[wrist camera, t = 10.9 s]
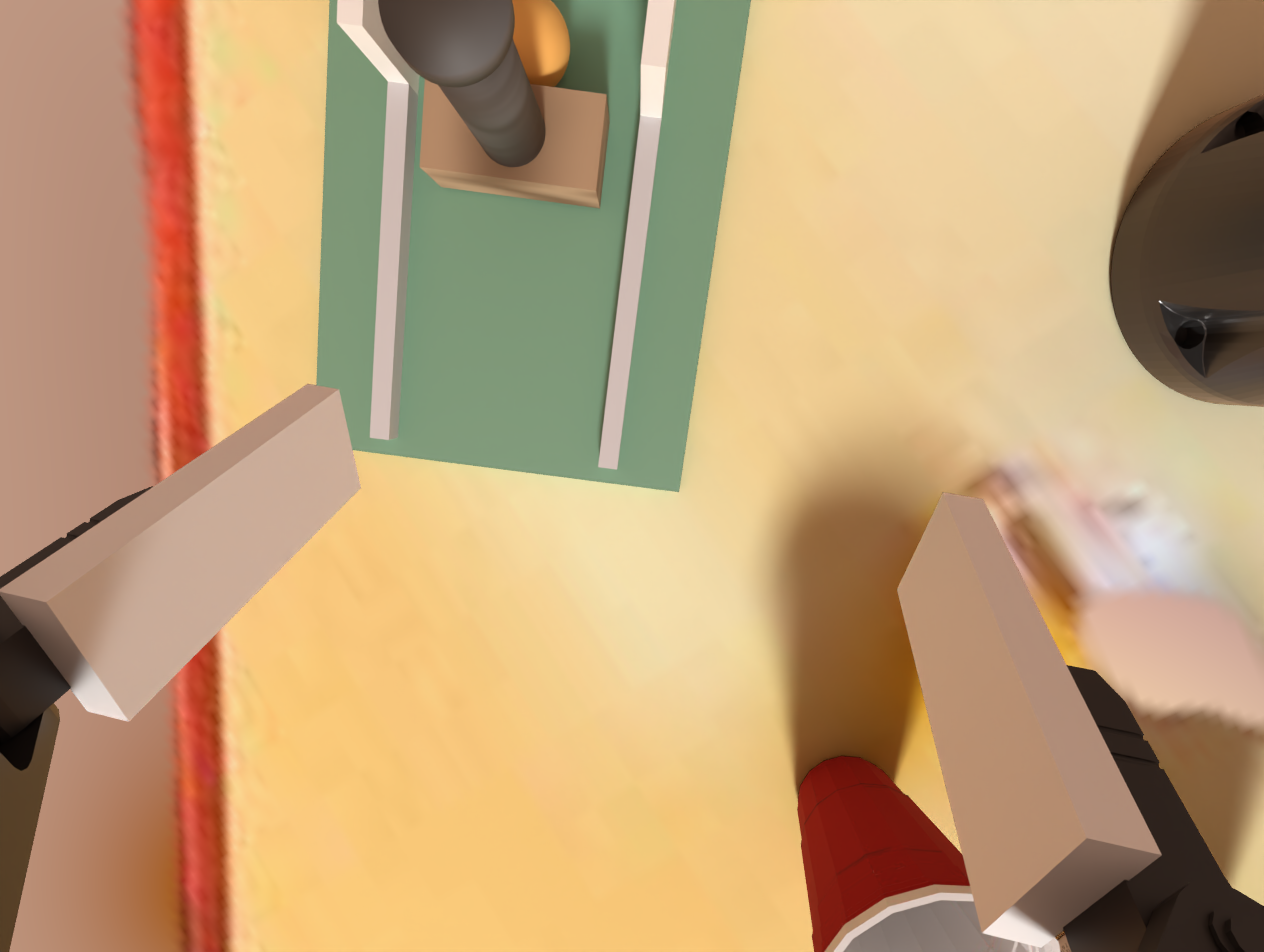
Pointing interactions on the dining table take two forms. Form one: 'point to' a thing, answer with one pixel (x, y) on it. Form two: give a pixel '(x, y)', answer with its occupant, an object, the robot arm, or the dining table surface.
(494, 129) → the rubber stamp
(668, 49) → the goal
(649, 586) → the dining table surface
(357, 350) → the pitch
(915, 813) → the plastic cup
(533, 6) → the ball
